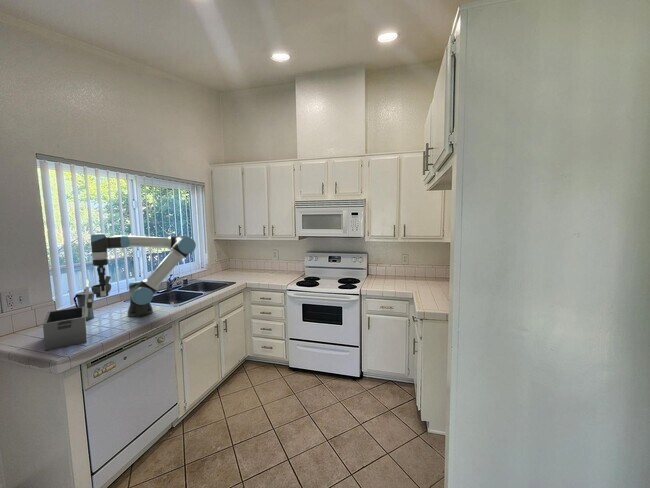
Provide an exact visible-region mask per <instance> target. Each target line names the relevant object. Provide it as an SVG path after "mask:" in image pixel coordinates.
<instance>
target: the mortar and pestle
mask: <svg viewBox="0 0 650 488" xmlns="http://www.w3.org/2000/svg"><path fill="white" fill-rule="evenodd" d="M111 279H112V277H111V276H109V275H106V276H105V286H106V296H102V297H101V294H100V286H99V285H100V284H99V283H98V284H95V285H92V286H91V287H90V288H91V291H92V292H93V293H94V295H95V298H97V299H98V298H106V297H109V293H110V291H111V290H112V284H111V283H109V282H110V280H111Z"/></svg>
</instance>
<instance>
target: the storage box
mask: <svg viewBox="0 0 650 488" xmlns="http://www.w3.org/2000/svg"><path fill="white" fill-rule="evenodd" d="M42 328H43V331H42V332H43V340H44V341H43V342H44V343H43V344H44V351H45V352H47V351H52V350H57V349H63V348H66V347H67V348H68V347H73V346H77V345H81V344H86V343H88V342H87V341H88V340H87V339H88V338H87V336H88V335H87V320H86V317H85V306H84V307H79V306H78V308H76V307H74V308H73V307H72V308H65V309H64V308H63V309H57V310H52V311H51V310H50V311H47V313H46V315H45V317H44V321H43V323H42Z"/></svg>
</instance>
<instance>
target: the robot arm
mask: <svg viewBox="0 0 650 488" xmlns="http://www.w3.org/2000/svg"><path fill="white" fill-rule="evenodd" d="M90 246H91V254H90V257H91V256H92V257H91V258H92V266H94V267H97V268H96V271H97V276H98V285H99V284H100V285H99V286H100V294H101V297H102V296H106V286H105V279H106V276H105V275H106V268H105V267H104V266H107V265H109V259H108V257H109V256H108V254H109V253H108V249H109V250H110V249H124V248H152V249H153V248H155V249H156V248H158V249H168V250H170V251H169V253H168V255H166V256H165V258H163V260H162V261H161V262H160V263H159V265H158V266H156V268H155V269H154V270H153V271H152V272H151V273H150V275H148V277H147V278H146V279H141V280H138V281H131V282H129V283H128V292H129V306H128V310H127V316H128V317H130V318H131V317H133V318H137V317H143V316H149V315H151V314H152V313H153V312H154V310H153V306H152V303H151V301H152V300H153V299H154V295H155V294H156V293H157V292H158V291H159V289H158V287H159V286H160V284H162V282H163V281H164V280H165V279H166V278H167V276H168V275H169V274H170V273H172V271H173V269H175V267H176V266H177V265H178V264H179V263H180V261H181V260H183V259H186V258H187V257H188V256H189V254H192V253H193V252H194V251H195V250H196V247H197V244H196V242H195V239H193V238H191V237H190V236H187V235H186V236H185V235H178V236H176V235H175V236H168V237H162V236H159V237H158V236H157V237H156V236H143V235H141V236H139V235H120V234H115V235H113V236H107V234H106V233H92V234H91V235H90ZM102 298H103V297H102Z"/></svg>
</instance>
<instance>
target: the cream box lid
mask: <svg viewBox="0 0 650 488" xmlns="http://www.w3.org/2000/svg"><path fill="white" fill-rule="evenodd" d="M89 282H90V281H89V278H85V288H84V289H85V317H88V308H92V307H93V306H92V299H88V298H89V292H90V283H89Z"/></svg>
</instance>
